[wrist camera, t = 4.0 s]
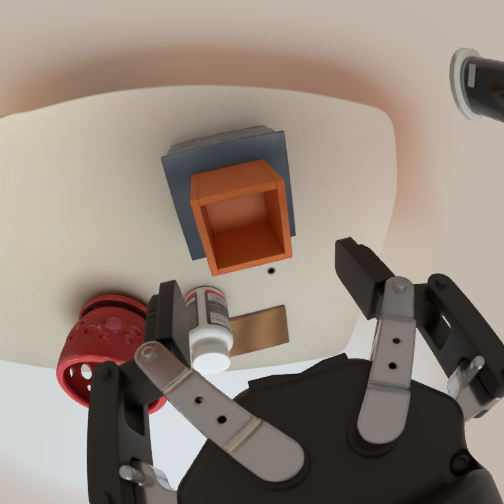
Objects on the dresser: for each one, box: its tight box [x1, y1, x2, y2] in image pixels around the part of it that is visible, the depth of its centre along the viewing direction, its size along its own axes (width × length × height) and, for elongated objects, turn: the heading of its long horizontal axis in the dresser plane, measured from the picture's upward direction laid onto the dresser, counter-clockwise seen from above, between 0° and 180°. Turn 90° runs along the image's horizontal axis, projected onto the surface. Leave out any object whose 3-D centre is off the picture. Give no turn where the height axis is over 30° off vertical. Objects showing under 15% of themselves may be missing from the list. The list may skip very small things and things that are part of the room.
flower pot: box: [56, 294, 167, 414], centre depth 29 cm, size 13×13×12 cm
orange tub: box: [190, 159, 292, 276], centre depth 19 cm, size 6×6×6 cm
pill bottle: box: [185, 287, 233, 374], centre depth 31 cm, size 5×5×10 cm
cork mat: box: [229, 305, 289, 357], centre depth 39 cm, size 12×8×1 cm, turn 99°
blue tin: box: [161, 126, 296, 260], centre depth 24 cm, size 9×9×6 cm
